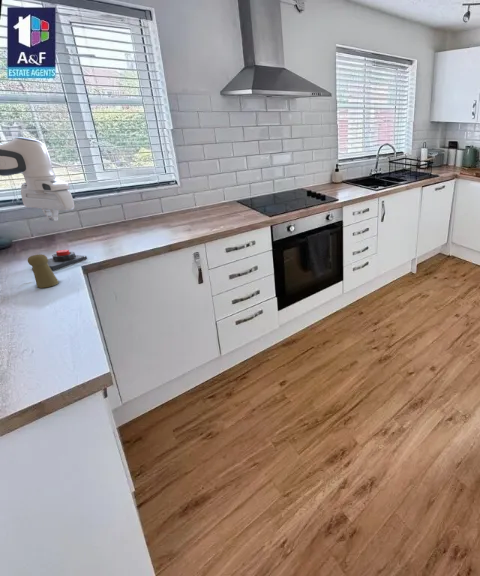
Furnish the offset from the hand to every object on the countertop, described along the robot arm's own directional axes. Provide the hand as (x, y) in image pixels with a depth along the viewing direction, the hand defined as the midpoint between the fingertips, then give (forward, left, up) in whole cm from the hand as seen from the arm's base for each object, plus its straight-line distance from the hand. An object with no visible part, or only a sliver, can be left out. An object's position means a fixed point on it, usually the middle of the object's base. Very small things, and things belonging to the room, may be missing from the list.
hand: (53, 220), depth 144 cm
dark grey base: (-2, 0, -19) cm, 19 cm away
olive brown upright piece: (-14, -17, -19) cm, 29 cm away
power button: (0, 0, -14) cm, 14 cm away
